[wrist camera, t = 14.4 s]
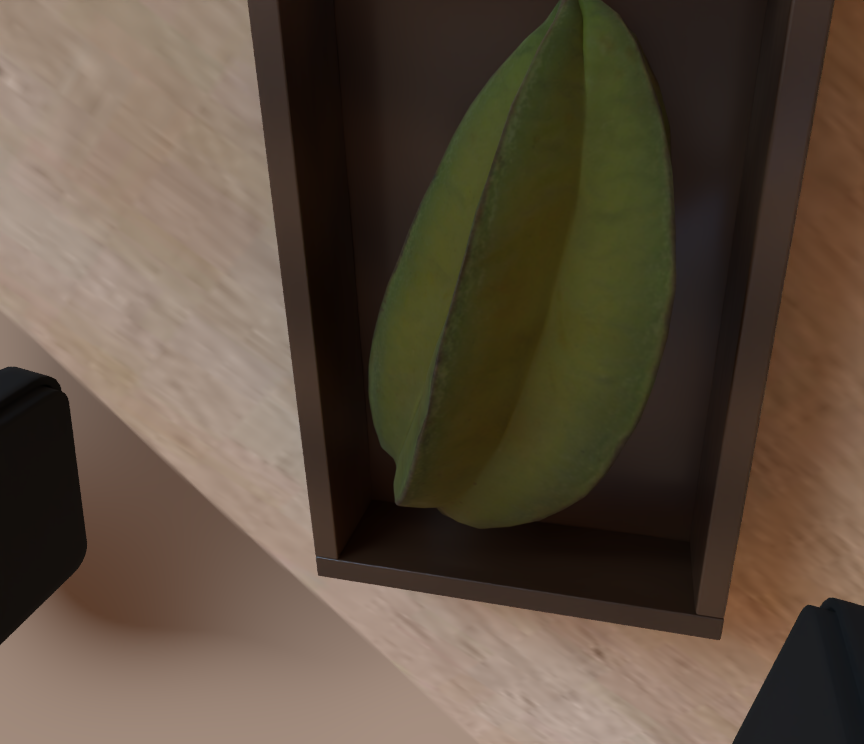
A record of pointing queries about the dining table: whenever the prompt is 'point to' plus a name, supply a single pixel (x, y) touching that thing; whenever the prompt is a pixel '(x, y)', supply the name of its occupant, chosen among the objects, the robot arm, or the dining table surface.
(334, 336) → the holder
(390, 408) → the fruit
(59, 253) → the dining table surface
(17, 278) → the dining table surface
